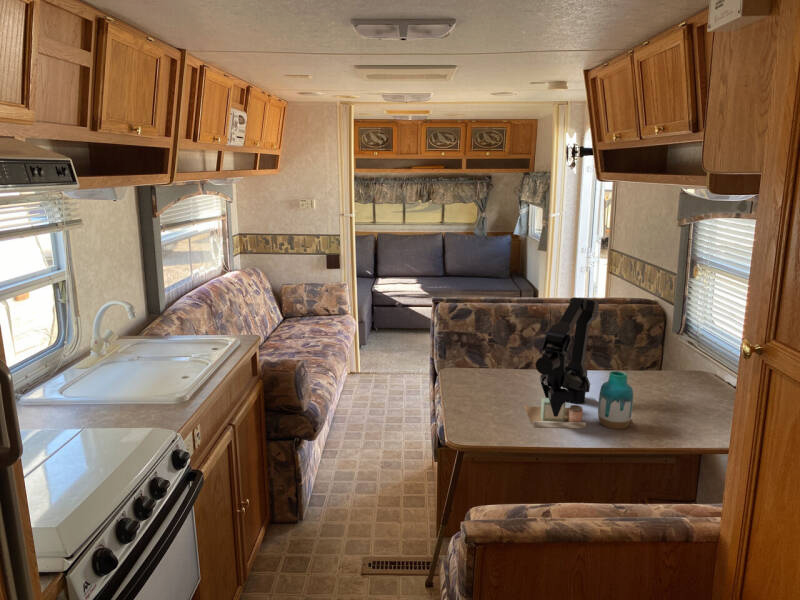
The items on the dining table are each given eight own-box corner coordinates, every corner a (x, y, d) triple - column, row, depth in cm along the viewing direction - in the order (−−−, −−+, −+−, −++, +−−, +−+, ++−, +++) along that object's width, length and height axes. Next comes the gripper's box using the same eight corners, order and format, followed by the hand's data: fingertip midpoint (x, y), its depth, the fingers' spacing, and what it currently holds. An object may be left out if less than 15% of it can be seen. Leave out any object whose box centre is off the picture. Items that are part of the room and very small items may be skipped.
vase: (612, 419, 200) (617, 366, 196) (637, 431, 191) (643, 376, 187) (589, 424, 196) (594, 370, 191) (613, 437, 186) (619, 380, 182)
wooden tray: (572, 411, 206) (572, 403, 205) (584, 432, 189) (585, 423, 189) (523, 410, 206) (524, 401, 206) (532, 431, 190) (533, 421, 189)
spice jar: (579, 421, 195) (581, 404, 193) (583, 426, 190) (584, 410, 189) (566, 420, 195) (567, 404, 193) (569, 426, 190) (571, 409, 189)
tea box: (542, 422, 193) (544, 402, 192) (540, 417, 197) (541, 397, 196) (563, 422, 193) (565, 403, 192) (561, 417, 197) (562, 398, 196)
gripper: (588, 377, 182) (584, 423, 185) (573, 358, 200) (570, 400, 203) (552, 376, 182) (549, 422, 186) (541, 357, 200) (538, 399, 204)
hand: (552, 410), depth 194 cm, fingers open, 9 cm apart
